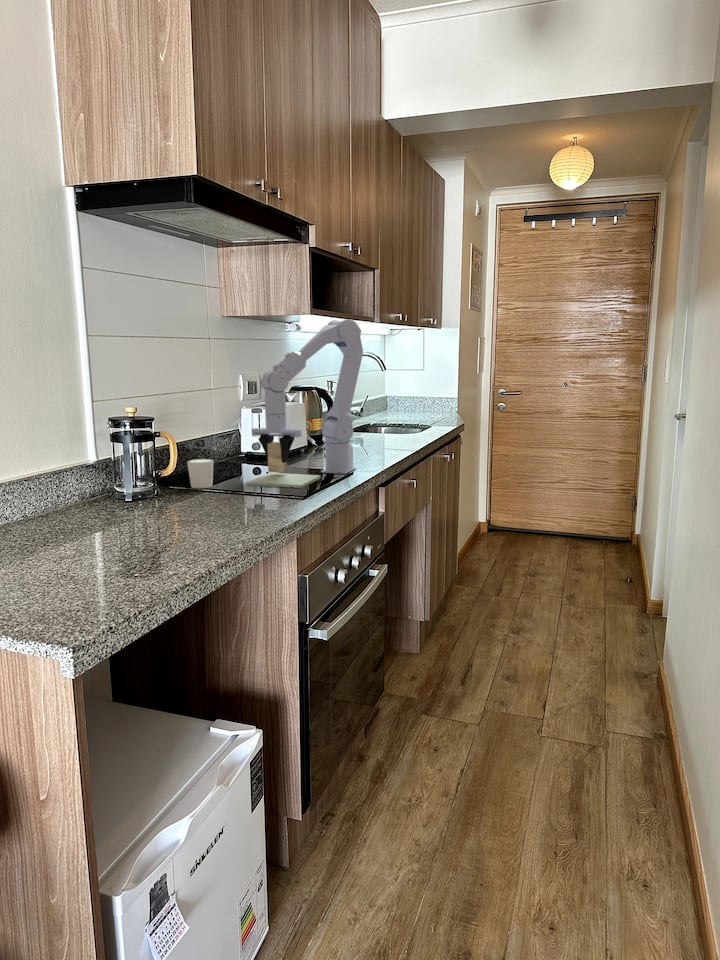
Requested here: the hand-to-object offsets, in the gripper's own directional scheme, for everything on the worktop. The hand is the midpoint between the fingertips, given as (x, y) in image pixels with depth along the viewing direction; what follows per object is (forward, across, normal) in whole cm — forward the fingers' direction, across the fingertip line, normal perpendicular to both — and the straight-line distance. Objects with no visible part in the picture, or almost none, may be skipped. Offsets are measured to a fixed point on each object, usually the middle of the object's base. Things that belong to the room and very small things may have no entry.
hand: (277, 461), depth 191 cm
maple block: (+3, 0, 0) cm, 3 cm away
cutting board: (+5, +4, -4) cm, 7 cm away
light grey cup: (+5, -15, -16) cm, 22 cm away
